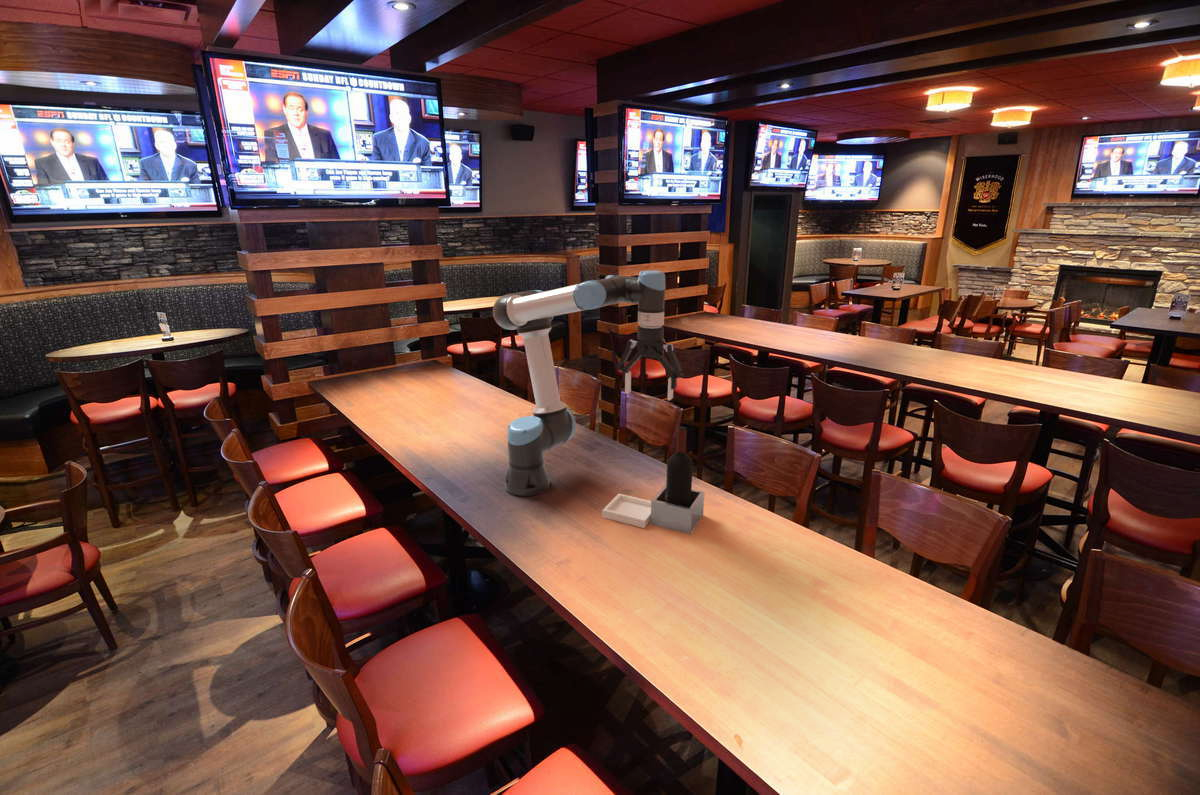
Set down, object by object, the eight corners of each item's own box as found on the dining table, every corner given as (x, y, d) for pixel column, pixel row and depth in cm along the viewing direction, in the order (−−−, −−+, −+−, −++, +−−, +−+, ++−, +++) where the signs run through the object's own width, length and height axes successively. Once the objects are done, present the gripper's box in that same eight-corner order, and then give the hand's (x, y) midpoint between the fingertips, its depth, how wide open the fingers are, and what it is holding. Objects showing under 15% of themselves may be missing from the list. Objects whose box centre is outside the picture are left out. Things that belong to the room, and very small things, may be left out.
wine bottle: (670, 527, 171) (674, 434, 162) (660, 515, 178) (664, 424, 169) (693, 524, 173) (699, 431, 164) (683, 512, 180) (688, 422, 171)
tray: (602, 517, 177) (602, 509, 176) (618, 500, 187) (618, 493, 186) (644, 528, 171) (644, 520, 170) (659, 510, 181) (659, 503, 181)
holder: (650, 524, 173) (651, 500, 171) (664, 506, 184) (665, 483, 181) (690, 534, 168) (691, 510, 165) (702, 515, 179) (704, 492, 176)
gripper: (606, 324, 168) (605, 393, 175) (688, 332, 158) (684, 405, 164) (616, 320, 174) (616, 386, 181) (696, 327, 164) (692, 398, 171)
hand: (648, 395), depth 173 cm, fingers open, 13 cm apart
